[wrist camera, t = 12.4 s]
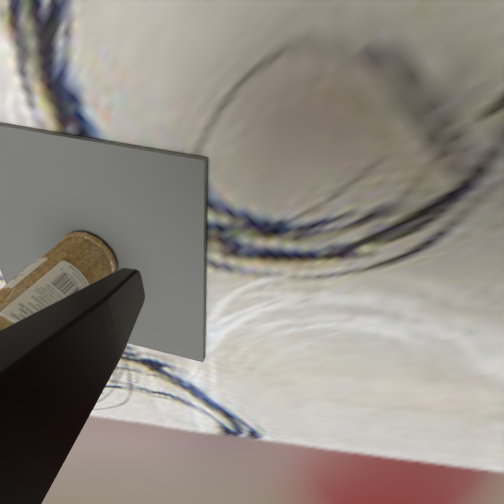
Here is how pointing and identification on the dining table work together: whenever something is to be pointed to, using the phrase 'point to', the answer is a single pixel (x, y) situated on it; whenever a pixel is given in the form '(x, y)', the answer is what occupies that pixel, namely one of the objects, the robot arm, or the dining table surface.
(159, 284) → the mat
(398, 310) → the dining table surface
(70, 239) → the sprinkles bottle
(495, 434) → the dining table surface
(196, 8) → the dining table surface
